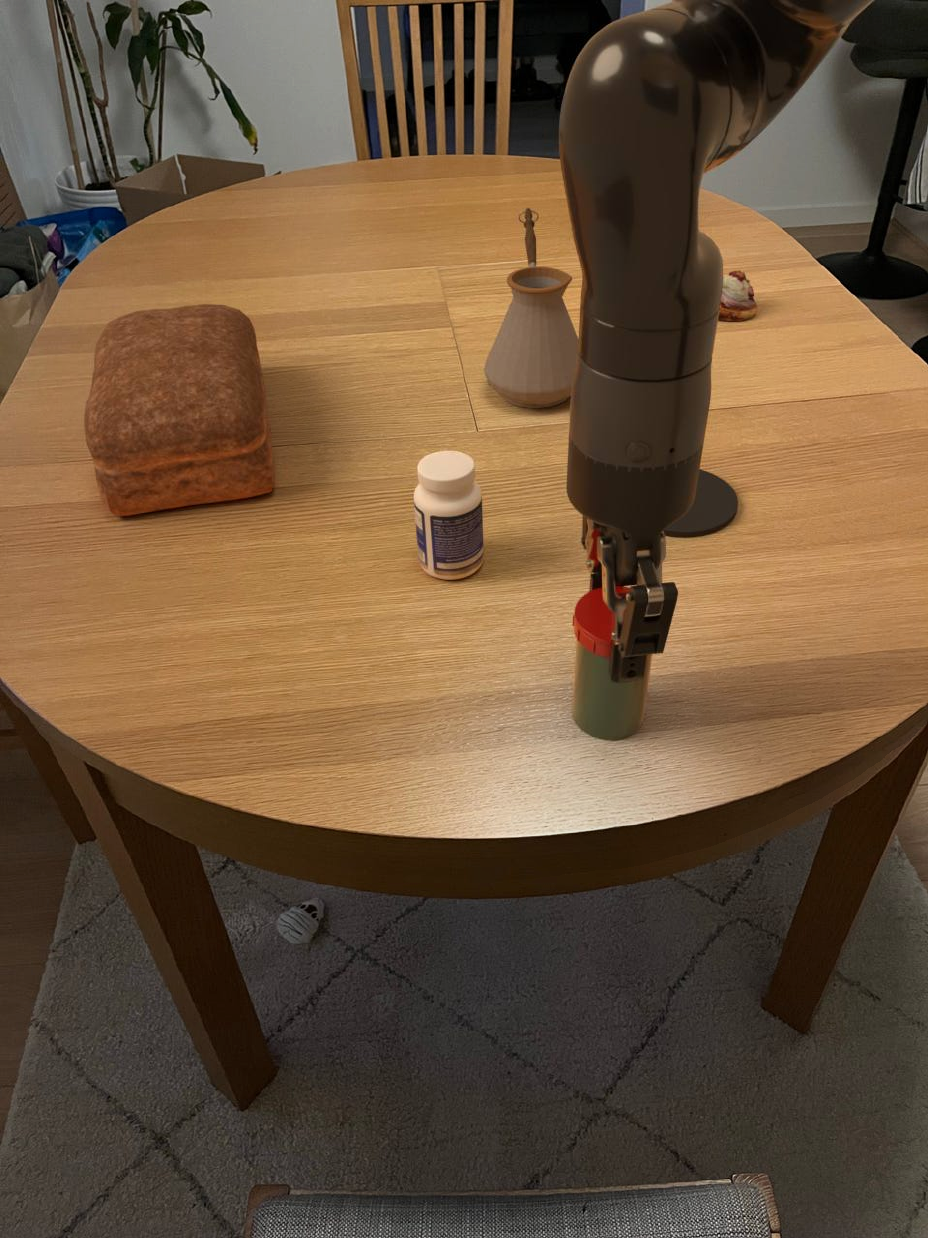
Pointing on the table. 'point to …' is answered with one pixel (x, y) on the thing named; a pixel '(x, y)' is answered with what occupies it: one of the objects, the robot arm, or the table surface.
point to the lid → (594, 622)
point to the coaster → (707, 508)
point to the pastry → (737, 298)
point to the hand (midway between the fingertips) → (614, 645)
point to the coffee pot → (534, 336)
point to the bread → (178, 410)
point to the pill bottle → (448, 515)
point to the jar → (606, 698)
